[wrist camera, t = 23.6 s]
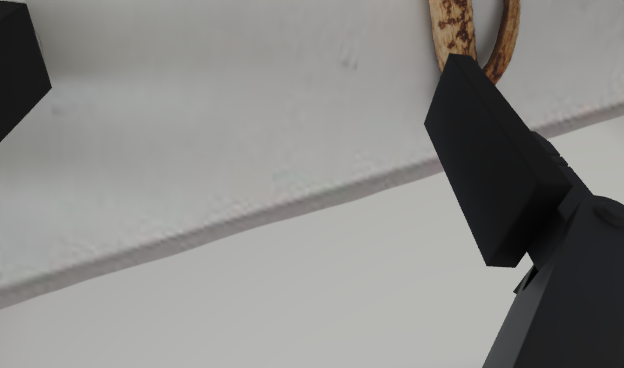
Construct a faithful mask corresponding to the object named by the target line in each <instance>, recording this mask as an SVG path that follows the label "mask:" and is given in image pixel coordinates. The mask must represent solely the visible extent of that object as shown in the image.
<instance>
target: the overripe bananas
mask: <svg viewBox="0 0 624 368" xmlns="http://www.w3.org/2000/svg"><path fill="white" fill-rule="evenodd" d="M428 1H429V5H430V14H431V19H432V32H433V40H434V43H435V52H436V56H437V58H438V66H439V68H440V71H441V74H442V71H443V69H444V66H445V63H446V60H447V57H448V55H449V53H454V54H463V55H471V56H472V57H473V59H474V60H475V61H476V62H477V53H476V49H475V34H474V31H475V29H474V24H473V9H472V4H471V0H428ZM519 21H520V0H504V9H503V15H502V19H501V24H500V29H499V32H498V37H497V40H496V43H495V46H494V49H493V52H492V54H491V56H490V58H489V60H488V62H487V64H486V65H485V66H484V67H483V69H482V70H483V71H484V72H485V74H486V75H487V76H488V78H489V79H490V80H491V81H492V83H493V84H494V85H496V83H497V82H498V81H499V79H500V78H501V77H502V75H503V73H504V72H505V70H506V68H507V66H508V64H509V62H510V60H511V57H512V54H513V51H514V48H515V44H516V40H517V35H518V29H519ZM477 64H478V62H477Z"/></svg>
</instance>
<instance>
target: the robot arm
mask: <svg viewBox="0 0 624 368" xmlns="http://www.w3.org/2000/svg"><path fill="white" fill-rule="evenodd" d="M51 88H52V86H51V83H50V80H49V77H48V73H47V70H46V67H45V63H44V60H43V57H42V54H41V50H40V47H39V44H38V41H37V37H36V34H35V31H34V27H33V24H32V21H31V18H30V14H29V11H28V8H27V5H26V4H25V3H16V2H8V1H0V142H1V141H2V140H3V139H4V138H5V137H6V136H7V135H8V134H9V133H10V132H11V130H12V129H13V128H14V127H15V126H16V125H17V124H18V123H19V122H20V121H21V120H22V119H23V118H24V117H25V116H26V115H27V114H28V113H29V112H30V110H31V109H32V108H33V107H34V106H35V105H36V104H37V103H38V102H39V101H40V100H41V99H42V98H43V97H44V96H45V95H46V94H47V93H48V92H49V90H50V89H51ZM424 125H425V127H426V130H427V132H428V134H429V136H430V139H431V141H432V143H433V146H434V148H435V150H436V152H437V155H438V157H439V159H440V161H441V164H442V166H443V168H444V171H445V173H446V175H447V177H448V180H449V182H450V184H451V186H452V188H453V191H454V193H455V195H456V198H457V200H458V202H459V205H460V207H461V209H462V211H463V213H464V216H465V218H466V220H467V223H468V225H469V227H470V229H471V232H472V234H473V236H474V238H475V241H476V243H477V245H478V248H479V249H480V252H481V254H482V257H483V259H484V261H485V263H486V266H494V267H512V268H515V267H516V266H517V265H518V263H519V262H520V260H521V259H522V257H523V256H524V255H525V253H526V252H527V253H528V254H529V256H530V258H531V260H532V261H533V263H534V265H533V266H532V268H531V269H530V270H529V271H528V273H527V274H526V275H525V277H524V278H523V279H522V281H521V282H520V283H519V285H518V286H517V287H516V289H515V290H514V291H513V292H514V293H516V294H517V295H516V297H515V300H514V302H513V304H512V306H511V308H510V310H509V312H508V314H507V316H506V318H505V320H504V323H503V325H502V327H501V329H500V331H499V333H498V335H497V337H496V340H495V342H494V344H493V346H492V348H491V350H490V352H489V354H488V356H487V359H486V360H485V363H484V365H483V367H482V368H624V205H623V204H621V203H619V202H617V201H615V200H612V199H610V198H607V197H602V196H596V195H593V194H592V193H591V191H590V190H589V189H588V188H587V187H586V185H585V184H584V183H583V182H582V180H581V179H580V178H579V177H578V176H577V175H576V173H575V172H574V171H573V170H572V168H571V167H568V163H567V162H566V161H565V160H564V159H563V157H560V154H559V153H558V151H557V150H556V149H555V148H554V146H553V145H552V144H551V143H550V142H549V141H547V140H546V139H545V138H543V137H542V136H541V135H539V134H538V133H536V132H534V131H530V130H529V128H528V127H527V126H526V125H525V123H524V122H523V121H522V120H521V118H520V117H519V116H518V114H517V113H516V112H515V111H514V109H513V108H512V107H511V106H510V104H509V103H508V102H507V100H506V99H505V98H504V97H503V95H502V94H501V93H500V92H499V90H498V89H497V88H496V86H495V85H494V84H493V83H492V81H491V80H490V79H489V78H488V76H487V75H486V74H485V72H484V71H483V70H482V69H481V67H480V66H479V65H478V64H477V62H476V61H475V60H474V59H473V57H472V56H471V55H463V54H454V53H449V55H448V57H447V60H446V63H445V66H444V69H443V71H442V74H441V77H440V80H439V83H438V86H437V88H436V91H435V94H434V97H433V100H432V102H431V105H430V108H429V111H428V114H427V116H426V119H425V122H424Z"/></svg>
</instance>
